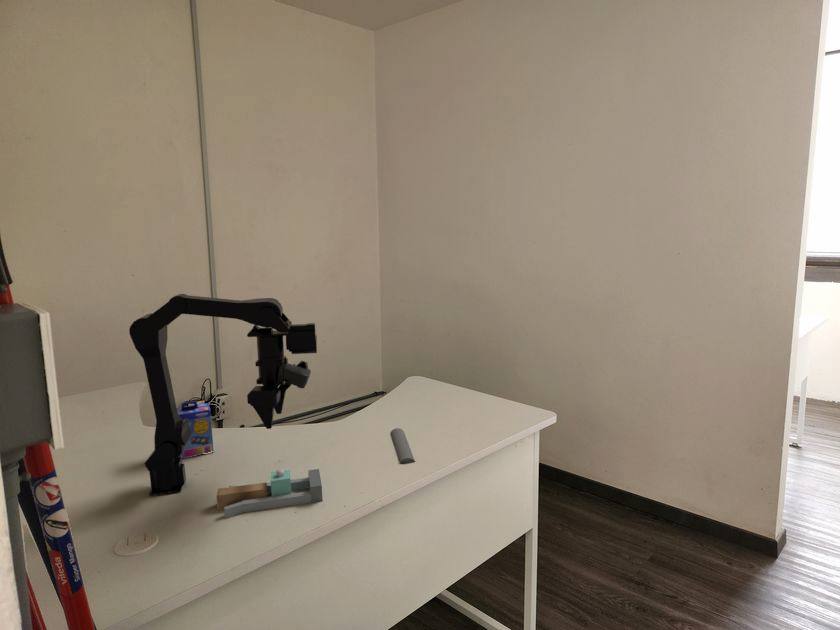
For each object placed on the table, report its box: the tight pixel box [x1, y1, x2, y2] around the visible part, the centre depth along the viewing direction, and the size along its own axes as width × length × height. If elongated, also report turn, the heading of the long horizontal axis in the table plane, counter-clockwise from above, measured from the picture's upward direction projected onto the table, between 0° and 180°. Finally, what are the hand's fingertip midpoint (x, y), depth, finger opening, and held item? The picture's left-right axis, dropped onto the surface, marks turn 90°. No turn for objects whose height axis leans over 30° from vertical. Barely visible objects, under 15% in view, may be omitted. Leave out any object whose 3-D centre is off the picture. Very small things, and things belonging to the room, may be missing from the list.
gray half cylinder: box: [389, 427, 415, 464], centre depth 142 cm, size 4×20×2 cm, turn 10°
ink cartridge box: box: [176, 400, 215, 460], centre depth 139 cm, size 10×6×14 cm, turn 117°
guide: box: [223, 468, 323, 519], centre depth 117 cm, size 20×10×4 cm, turn 105°
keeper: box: [270, 469, 292, 497], centre depth 117 cm, size 4×4×6 cm
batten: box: [216, 482, 269, 511], centre depth 115 cm, size 10×3×4 cm, turn 104°
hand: (274, 420), depth 124 cm, fingers open, 9 cm apart
